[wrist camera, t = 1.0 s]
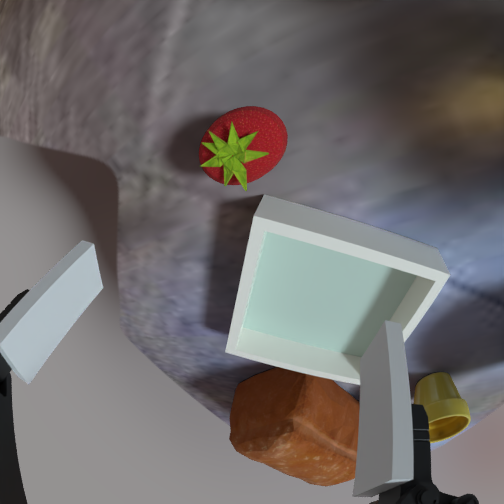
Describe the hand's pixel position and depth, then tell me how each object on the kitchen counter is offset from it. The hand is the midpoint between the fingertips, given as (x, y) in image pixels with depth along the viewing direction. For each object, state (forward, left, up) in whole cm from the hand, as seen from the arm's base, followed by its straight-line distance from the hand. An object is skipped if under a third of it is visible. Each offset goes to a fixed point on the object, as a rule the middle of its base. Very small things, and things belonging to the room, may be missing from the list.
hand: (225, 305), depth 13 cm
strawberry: (-3, -3, -20) cm, 20 cm away
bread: (+39, +15, -20) cm, 47 cm away
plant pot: (+26, +34, -20) cm, 47 cm away
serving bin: (+13, +9, -20) cm, 25 cm away
